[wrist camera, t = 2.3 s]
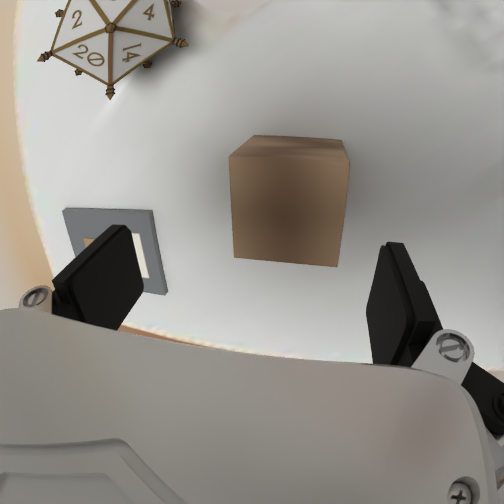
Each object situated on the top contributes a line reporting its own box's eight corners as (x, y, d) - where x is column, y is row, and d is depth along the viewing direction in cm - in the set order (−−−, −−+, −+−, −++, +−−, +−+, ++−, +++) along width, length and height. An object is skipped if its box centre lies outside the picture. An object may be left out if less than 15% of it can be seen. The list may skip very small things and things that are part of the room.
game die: (194, 32, 19) (236, 50, 12) (103, 94, 20) (94, 148, 13) (137, -51, 12) (148, -88, 5) (39, 19, 13) (-12, 33, 6)
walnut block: (340, 139, 18) (349, 163, 13) (334, 218, 21) (337, 267, 16) (254, 135, 19) (228, 156, 14) (255, 212, 22) (234, 257, 17)
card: (152, 210, 23) (147, 214, 23) (167, 291, 27) (164, 296, 27) (65, 208, 25) (61, 211, 25) (86, 277, 29) (83, 281, 29)
